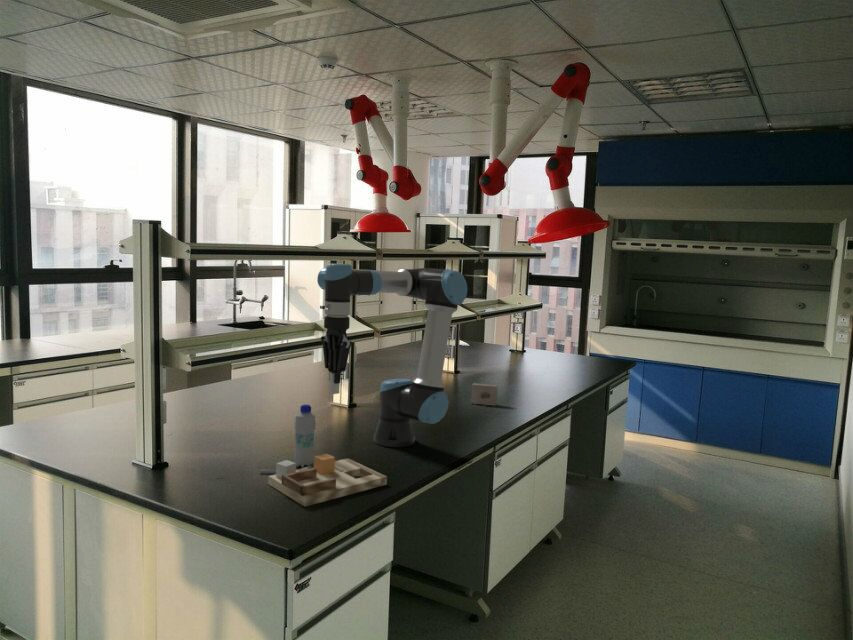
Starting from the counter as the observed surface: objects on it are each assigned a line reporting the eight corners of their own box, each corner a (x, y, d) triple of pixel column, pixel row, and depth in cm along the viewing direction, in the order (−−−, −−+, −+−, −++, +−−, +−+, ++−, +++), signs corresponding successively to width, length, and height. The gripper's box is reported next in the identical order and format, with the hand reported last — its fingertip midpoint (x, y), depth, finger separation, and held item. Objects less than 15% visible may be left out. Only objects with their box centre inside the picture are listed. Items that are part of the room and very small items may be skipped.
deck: (347, 465, 209) (348, 457, 209) (386, 484, 195) (387, 475, 194) (268, 484, 190) (268, 475, 190) (304, 506, 176) (305, 497, 175)
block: (285, 472, 193) (286, 459, 193) (295, 476, 191) (296, 462, 190) (276, 476, 190) (276, 463, 189) (285, 479, 188) (286, 466, 187)
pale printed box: (470, 404, 301) (472, 384, 300) (471, 402, 305) (472, 382, 303) (496, 406, 299) (498, 386, 298) (497, 404, 303) (498, 384, 302)
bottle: (315, 462, 211) (317, 402, 209) (312, 469, 204) (314, 407, 202) (294, 461, 211) (296, 401, 208) (291, 468, 204) (293, 406, 202)
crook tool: (293, 473, 201) (293, 469, 200) (292, 478, 197) (292, 474, 197) (260, 473, 199) (260, 469, 199) (258, 477, 195) (258, 474, 195)
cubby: (314, 476, 192) (314, 467, 191) (335, 487, 184) (336, 478, 183) (281, 483, 184) (281, 475, 184) (302, 495, 176) (302, 487, 176)
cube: (326, 467, 199) (326, 453, 199) (334, 471, 196) (335, 457, 196) (313, 470, 196) (314, 456, 196) (322, 474, 193) (322, 460, 193)
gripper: (314, 313, 194) (311, 390, 197) (339, 318, 185) (336, 399, 188) (335, 312, 200) (332, 387, 202) (360, 317, 190) (357, 396, 193)
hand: (334, 393), depth 195 cm, fingers closed
